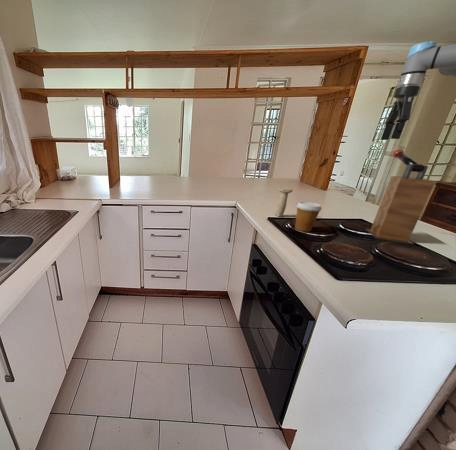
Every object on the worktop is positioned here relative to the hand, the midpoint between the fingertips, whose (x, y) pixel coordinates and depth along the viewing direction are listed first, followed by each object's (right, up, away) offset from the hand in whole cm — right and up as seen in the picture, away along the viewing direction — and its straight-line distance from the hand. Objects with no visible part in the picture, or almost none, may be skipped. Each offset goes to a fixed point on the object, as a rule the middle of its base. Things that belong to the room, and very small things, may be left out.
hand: (389, 139), depth 108 cm
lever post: (-8, -46, -7) cm, 47 cm away
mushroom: (-41, -35, +19) cm, 57 cm away
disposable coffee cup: (-40, -42, 0) cm, 58 cm away
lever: (-3, -14, -9) cm, 17 cm away
